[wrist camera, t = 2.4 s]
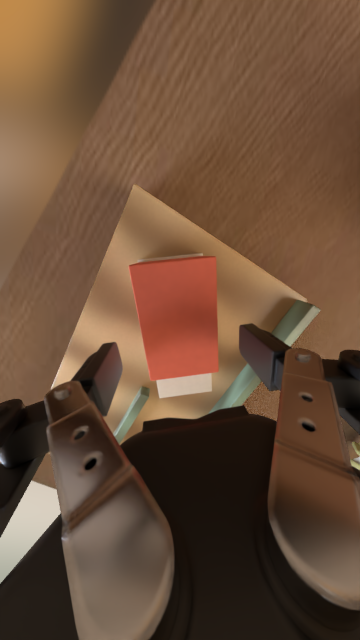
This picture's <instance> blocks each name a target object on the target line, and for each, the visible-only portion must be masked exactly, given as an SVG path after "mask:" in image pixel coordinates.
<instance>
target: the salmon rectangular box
mask: <svg viewBox="0 0 360 640" xmlns="http://www.w3.org/2000/svg"><path fill="white" fill-rule="evenodd" d="M129 272H130V277H131V282H132V288H133V293H134V298H135V303H136V308H137V313H138V319H139V324H140V329H141V334H142V339H143V345H144V350H145V355H146V360H147V365H148V371H149V376H150V380H151V381H155V380H156V381H157V387H158V392H159V398H165V397H173V396H180V395H187V394H195V393H202V392H209V391H212V379H211V373H215V372H218V371H219V367H218V318H217V269H216V256H203V253H198V254H188V255H178V256H169V257H159V258H149V259H140V260H138V263H135V264H132V265H129Z"/></svg>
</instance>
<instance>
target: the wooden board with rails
mask: <svg viewBox="0 0 360 640" xmlns="http://www.w3.org/2000/svg"><path fill="white" fill-rule="evenodd" d="M198 253H203V256H216V269H217V318H218V367H219V371H218V372H215V373H211V379H212V391H209V392H202V393H195V394H187V395H180V396H173V397H165V398H159V392H158V387H157V381H156V380H155V381H151V380H150V376H149V371H148V365H147V360H146V355H145V350H144V345H143V339H142V334H141V329H140V324H139V319H138V313H137V308H136V303H135V298H134V293H133V288H132V282H131V277H130V272H129V265H132V264H135V263H138V260H140V259H149V258H159V257H169V256H178V255H188V254H198ZM307 301H308V299H306V298H305V297H303V296H302V295H300V294H299V293H297V292H296V291H294V290H293V289H291V288H290V287H288V286H287V285H285V284H284V283H282V282H281V281H279V280H278V279H276V278H275V277H273V276H272V275H270V274H269V273H267V272H266V271H264V270H263V269H261V268H260V267H258V266H257V265H255V264H254V263H253V262H251V261H250V260H248V259H247V258H245V257H244V256H242V255H241V254H239V253H238V252H236V251H235V250H233V249H232V248H230V247H229V246H227V245H226V244H224V243H223V242H221V241H220V240H218V239H217V238H215V237H214V236H212V235H211V234H209V233H208V232H206V231H205V230H203V229H202V228H200V227H199V226H197V225H196V224H194V223H193V222H191V221H190V220H188V219H187V218H185V217H184V216H182V215H181V214H179V213H178V212H177V211H175V210H174V209H172V208H171V207H169V206H168V205H166V204H165V203H163V202H162V201H160V200H159V199H157V198H156V197H154V196H153V195H151V194H150V193H148V192H147V191H145V190H144V189H142V188H141V187H139V186H138V185H136V184H134V185H133V188H132V190H131V193H130V195H129V198H128V200H127V203H126V205H125V208H124V210H123V213H122V215H121V218H120V220H119V222H118V225H117V227H116V230H115V232H114V235H113V237H112V240H111V242H110V245H109V247H108V250H107V252H106V255H105V257H104V259H103V262H102V264H101V267H100V269H99V272H98V274H97V277H96V279H95V282H94V284H93V287H92V289H91V292H90V294H89V297H88V299H87V301H86V304H85V306H84V309H83V311H82V314H81V316H80V319H79V321H78V324H77V326H76V329H75V331H74V334H73V336H72V338H71V341H70V343H69V346H68V348H67V351H66V353H65V356H64V358H63V361H62V363H61V366H60V368H59V371H58V373H57V375H56V378H55V380H54V383H53V385H52V388H51V390H52V389H53V388H55V387H56V386H58V385H60V384H62V383H65V382H68V381H71V379H72V378H73V377H74V375H75V374H76V373H77V371H78V370H79V369H80V368H81V366H82V365H83V364H84V362H85V361H86V359H87V358H88V357H89V356H90V355H92V354H93V353H95V352H97V351H98V350H99V348H100V347H101V345H102V344H103V343H110V342H116V343H117V345H118V349H119V353H120V357H121V360H122V365H123V371H122V375H121V378H120V380H119V383H118V386H117V389H116V392H115V394H114V397H113V400H112V403H111V406H110V409H109V411H108V414H107V416H105V417H103V418H104V420H105V422H106V423H107V425H108V427H109V428H110V430H111V432H112V433H113V435H114V437H115V438H116V440H117V442H118V443H119V445H121V444H122V443H123V442H124V441H126V440H127V439H128V438H130V437H131V436H133V435H135V434H137V433H138V432H141V431H142V428H143V421H149V420H155V419H162V418H168V417H170V418H184V419H197V418H200V417H202V416H205V415H207V414H209V413H212V412H214V411H217V410H219V409H224V408H230V407H236V406H241V405H242V404H243V403H244V401H245V400H246V399H247V398H248V397H249V395H250V394H251V393H252V392H253V391H254V389H255V388H256V387H257V386H258V385H259V383H260V382H261V379H260V378H259V377H258V376H257V374H256V373H255V372H254V371H253V369H252V368H251V367H250V366H249V364H248V363H247V362H246V360H245V359H244V358H243V357H242V355H241V353H240V350H239V326H240V325H242V324H250V323H253V324H254V325H256V326H257V327H258V328H260V329H262V330H265V331H268V332H270V333H271V334H273V335H274V336H275V337H277V338H279V340H281V341H283V342H284V343H286V344H287V345H288V346H291V345H292V344H293V343H294V342H295V340H296V339H297V338H298V337H299V336H300V334H301V333H302V332H303V331H304V330H305V328H306V327H307V326H308V325H309V324H310V322H311V321H312V320H313V319H314V318H315V316H316V315H317V314H318V313H319V312H320V309H319V308H318V307H316V306H315V305H313V304H310V303H307ZM48 454H50V452H48Z"/></svg>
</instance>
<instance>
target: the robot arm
mask: <svg viewBox="0 0 360 640" xmlns="http://www.w3.org/2000/svg"><path fill="white" fill-rule="evenodd" d="M239 350H240V353H241V355H242V357H243V358H244V359H245V360H246V362H247V363H248V364H249V366H250V367H251V368H252V369H253V371H254V372H255V373H256V374H257V376H258V377H259V378H260V379H261V381H262V382H263V383H264V384H265V386H266V387H267V388H268V389H269V391H274V390H280V391H281V392H280V400H279V408H278V417H277V422H276V421H274V420H272V419H269V418H267V417H264V416H260V415H255V414H248V412H247V410H246V408H245V406H244V405H243V406H236V407H230V408H224V409H219V410H217V411H214V412H212V413H209V414H207V415H205V416H202V417H200V418H197V419H184V418H170V417H168V418H162V419H155V420H149V421H143V428H142V431H141V432H138V433H137V434H135V435H133V436H131V437H130V438H128V439H127V440H126V441H124V442H123V443H122V444H121V445H119V443H118V442H117V440H116V438H115V437H114V435H113V433H112V432H111V430H110V428H109V427H108V425H107V423H106V422H105V420H104V418H103V417H105V416H107V414H108V411H109V409H110V406H111V403H112V400H113V397H114V394H115V392H116V389H117V386H118V383H119V380H120V378H121V375H122V371H123V365H122V360H121V357H120V353H119V349H118V345H117V343H116V342H110V343H103V344H102V345H101V347H100V348H99V350H98V351H97V352H95V353H93V354H92V355H90V356H89V357H88V358H87V359H86V361H85V362H84V364H83V365H82V366H81V368H80V369H79V370H78V371H77V373H76V374H75V375H74V377H73V378H72V379H71V381H68V382H65V383H62V384H60V385H58V386H56V387H55V388H53V389H52V390H50V391H49V392H48V393H47V394H46V396H45V398H44V401H41V402H38V403H35V404H32V405H30V406H27V407H25V406H24V404H23V402H22V400H20V399H12V400H8V401H5V402H3V403H0V461H1V463H0V537H1V535H2V533H3V532H4V530H5V528H6V526H7V524H8V522H9V520H10V518H11V517H12V515H13V513H14V511H15V509H16V508H17V506H18V504H19V502H20V500H21V498H22V497H23V495H24V493H25V491H26V489H27V487H28V486H29V484H30V482H31V480H32V478H33V476H34V475H35V473H36V471H37V469H38V467H39V465H40V464H41V462H42V460H43V458H44V456H45V454H46V453H48V452H50V455H51V461H52V466H53V472H54V477H55V483H56V488H57V494H58V499H59V505H60V510H61V514H60V515H59V516H58V517H57V518H56V519H55V521H54V522H53V523H52V524H51V525H50V526H49V528H48V529H47V530H46V531H45V532H44V534H43V535H42V536H41V537H40V538H39V539H38V540H37V542H36V543H35V544H34V545H33V546H32V547H31V549H30V550H29V551H28V552H27V553H26V555H25V556H24V557H23V558H22V559H21V560H20V562H19V563H18V564H17V565H16V566H15V567H14V569H13V570H12V571H11V572H10V573H9V575H8V576H7V577H6V578H5V579H4V580H3V581H2V583H1V584H0V640H360V470H358V469H357V468H355V467H353V466H352V465H351V461H350V456H349V452H348V448H347V444H346V440H345V435H344V431H343V427H342V423H341V418H340V416H341V417H342V418H343V419H344V420H345V421H346V422H347V423H348V424H349V425H350V426H351V427H353V428H354V429H355V430H356V431H357V432H358V433H359V434H360V351H358V350H344V351H342V352H340V355H339V360H329V359H321V357H320V356H319V355H318V354H316V353H315V352H312V351H310V350H306V349H301V348H291V347H290V346H288V345H287V344H286V343H284V342H283V341H281V340H279V338H277V337H275V336H274V335H273V334H271V333H270V332H268V331H265V330H262V329H260V328H258V327H257V326H256V325H254V324H253V323H250V324H242V325H240V326H239Z"/></svg>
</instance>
